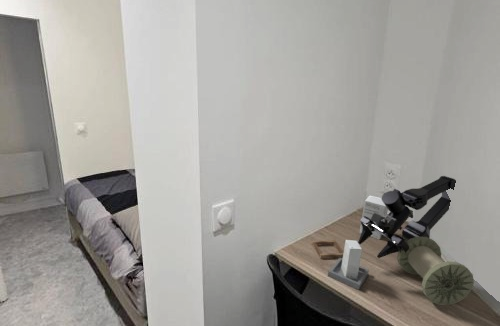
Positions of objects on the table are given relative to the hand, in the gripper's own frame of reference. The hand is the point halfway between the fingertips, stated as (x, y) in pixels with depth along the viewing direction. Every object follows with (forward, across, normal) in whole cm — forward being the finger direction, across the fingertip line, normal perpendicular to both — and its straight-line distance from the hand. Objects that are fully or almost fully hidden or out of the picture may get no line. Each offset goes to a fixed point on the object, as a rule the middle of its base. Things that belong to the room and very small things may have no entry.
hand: (367, 250), depth 101 cm
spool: (-4, +14, +17) cm, 23 cm away
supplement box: (-12, -22, +24) cm, 35 cm away
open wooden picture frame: (+10, -15, +3) cm, 18 cm away
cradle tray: (+12, 0, +1) cm, 12 cm away
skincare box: (+11, 0, +1) cm, 11 cm away
